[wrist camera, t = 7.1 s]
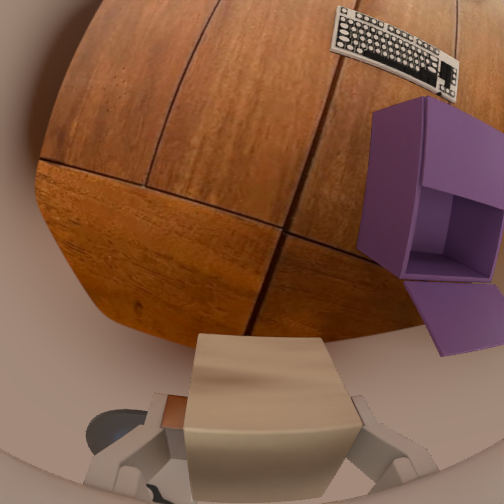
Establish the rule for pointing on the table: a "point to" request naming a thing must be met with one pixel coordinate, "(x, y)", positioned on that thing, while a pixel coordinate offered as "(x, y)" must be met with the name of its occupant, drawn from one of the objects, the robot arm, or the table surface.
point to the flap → (460, 314)
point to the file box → (433, 193)
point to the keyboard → (394, 52)
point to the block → (265, 419)
